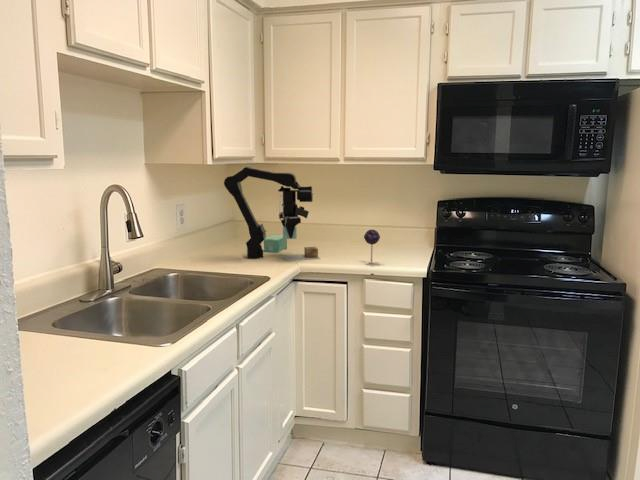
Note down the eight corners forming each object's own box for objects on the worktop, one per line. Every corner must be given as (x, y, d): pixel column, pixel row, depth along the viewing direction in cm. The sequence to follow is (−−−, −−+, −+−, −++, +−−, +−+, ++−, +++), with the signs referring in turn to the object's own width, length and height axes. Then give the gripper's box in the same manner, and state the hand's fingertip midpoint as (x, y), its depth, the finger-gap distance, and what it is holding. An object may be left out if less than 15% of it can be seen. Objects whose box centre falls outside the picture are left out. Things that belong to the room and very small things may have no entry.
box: (263, 254, 252) (263, 238, 251) (273, 249, 265) (273, 234, 264) (278, 255, 250) (278, 239, 249) (287, 249, 263) (287, 235, 262)
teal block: (285, 239, 234) (285, 227, 233) (283, 237, 239) (282, 226, 238) (296, 238, 235) (296, 227, 235) (294, 236, 240) (293, 225, 239)
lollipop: (381, 263, 233) (382, 229, 231) (375, 266, 228) (376, 231, 225) (367, 261, 237) (368, 227, 234) (360, 264, 231) (361, 229, 228)
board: (285, 263, 232) (285, 260, 232) (280, 257, 244) (280, 255, 244) (321, 261, 237) (321, 259, 236) (314, 255, 248) (314, 253, 248)
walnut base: (307, 258, 238) (307, 249, 238) (304, 255, 243) (304, 247, 242) (317, 257, 240) (317, 248, 239) (315, 255, 244) (315, 246, 244)
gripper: (312, 203, 228) (312, 239, 230) (302, 199, 245) (302, 232, 248) (286, 204, 225) (287, 240, 227) (278, 200, 242) (278, 233, 245)
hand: (289, 236), depth 237 cm, fingers closed on teal block, 5 cm apart
